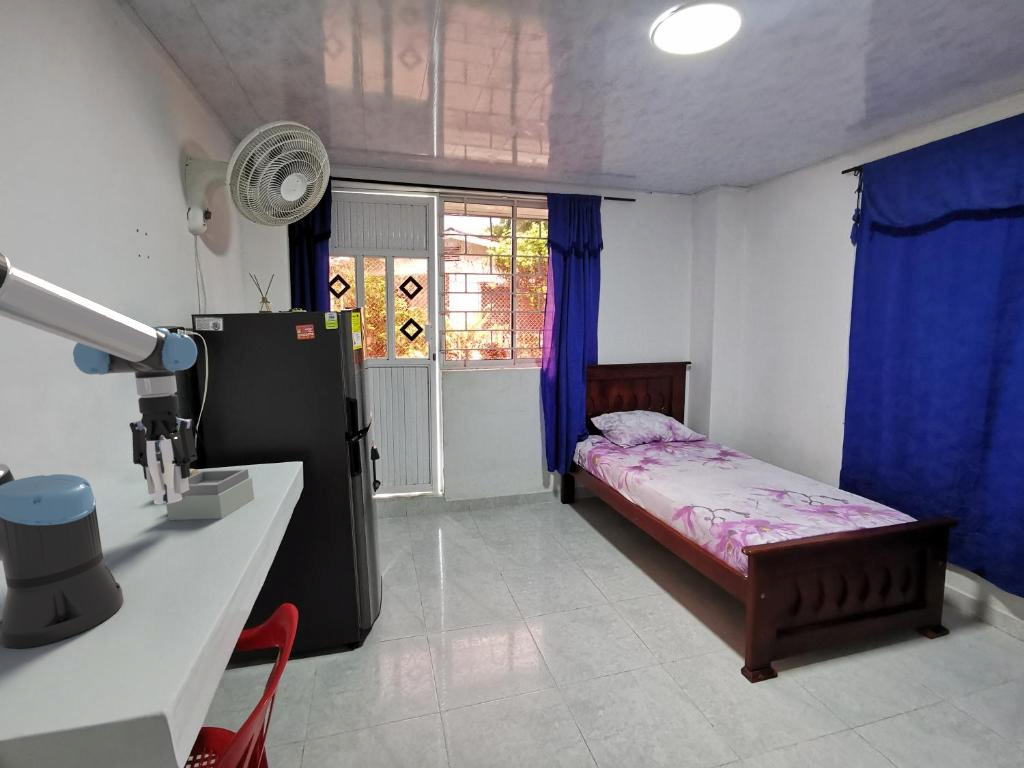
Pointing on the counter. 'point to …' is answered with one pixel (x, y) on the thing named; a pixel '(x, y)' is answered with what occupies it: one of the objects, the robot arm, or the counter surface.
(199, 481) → the grey box with knob
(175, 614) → the counter surface
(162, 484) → the beer glass
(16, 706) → the counter surface
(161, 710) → the counter surface
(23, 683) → the counter surface
